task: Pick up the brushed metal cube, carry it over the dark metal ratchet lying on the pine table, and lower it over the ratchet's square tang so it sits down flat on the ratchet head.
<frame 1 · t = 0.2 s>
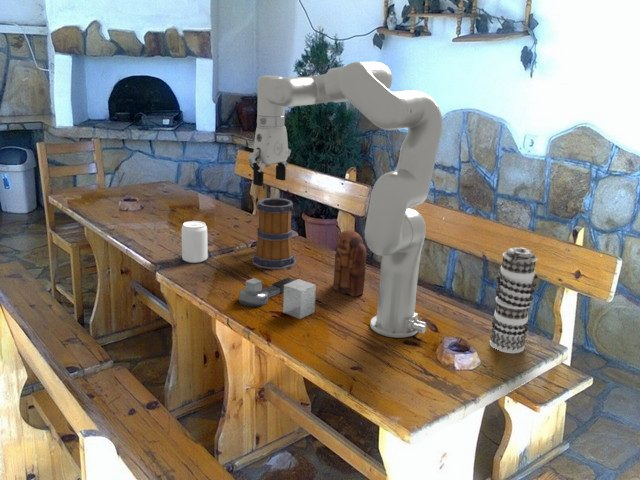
hand: (269, 182, 185), 31 cm above the table, tool pointing down, fingers open, 9 cm apart
brushed metal cube: (298, 312, 175), on the table
decorative candle: (506, 345, 162), on the table
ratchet: (253, 301, 181), on the table
beverage can: (194, 260, 211), on the table
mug: (271, 259, 215), on the table
wooden figurine: (347, 290, 192), on the table
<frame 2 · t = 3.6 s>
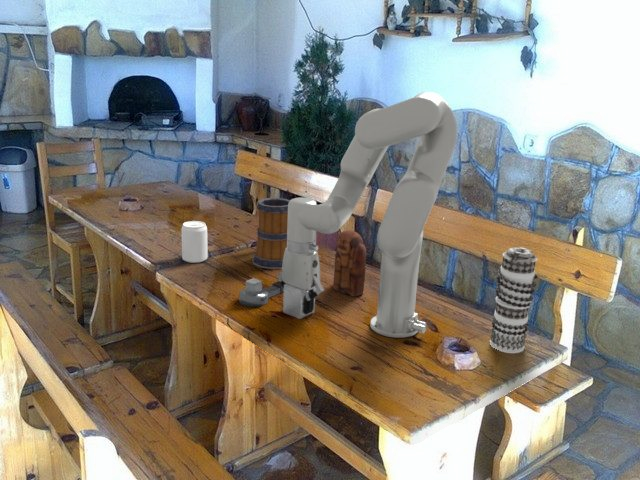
hand: (299, 308, 175), 1 cm above the table, tool pointing down, fingers closed on brushed metal cube, 6 cm apart
brushed metal cube: (298, 312, 175), on the table, touching gripper
everything else where it was.
when the fingers open (5 cm above the table, at t = 8.9 s): brushed metal cube drops 1 cm, resting on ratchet.
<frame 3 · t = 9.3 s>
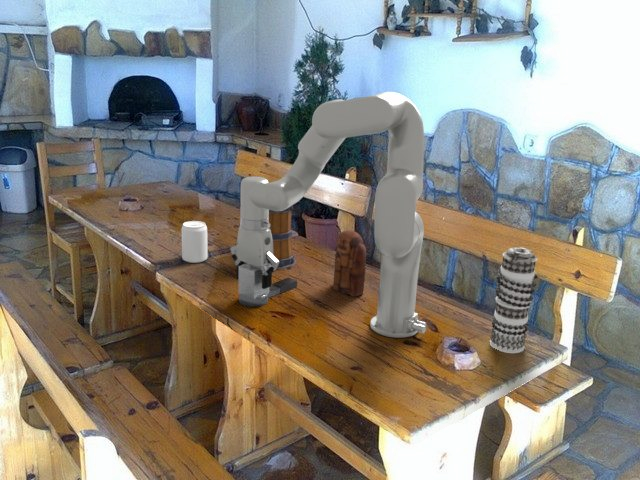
hand: (253, 282, 179), 5 cm above the table, tool pointing down, fingers open, 9 cm apart
brushed metal cube: (253, 293, 180), point 2 cm above the table, touching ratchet
everything else where it was.
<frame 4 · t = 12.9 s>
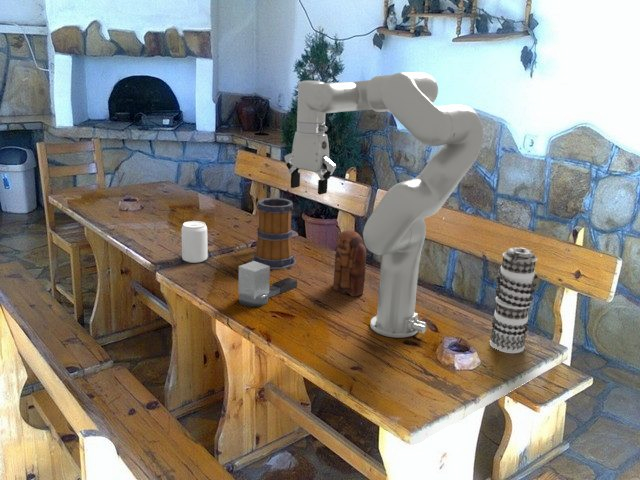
hand: (308, 190, 180), 30 cm above the table, tool pointing down, fingers open, 9 cm apart
nothing on the table moved.
at the end: brushed metal cube 0.1 cm off-centre on the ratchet, point 2.4 cm above the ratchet's base; brushed metal cube tilted 0°; the gripper is holding nothing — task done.
